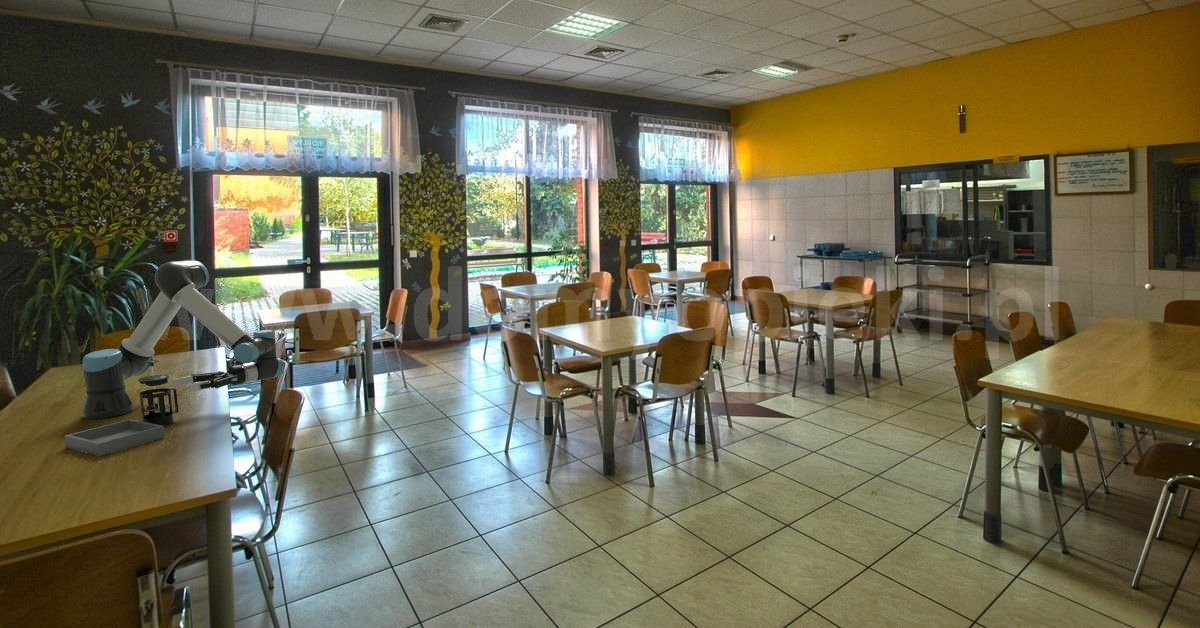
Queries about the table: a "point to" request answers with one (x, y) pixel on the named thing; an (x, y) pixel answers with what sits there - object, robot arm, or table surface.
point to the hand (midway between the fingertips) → (181, 385)
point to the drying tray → (114, 437)
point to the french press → (162, 416)
